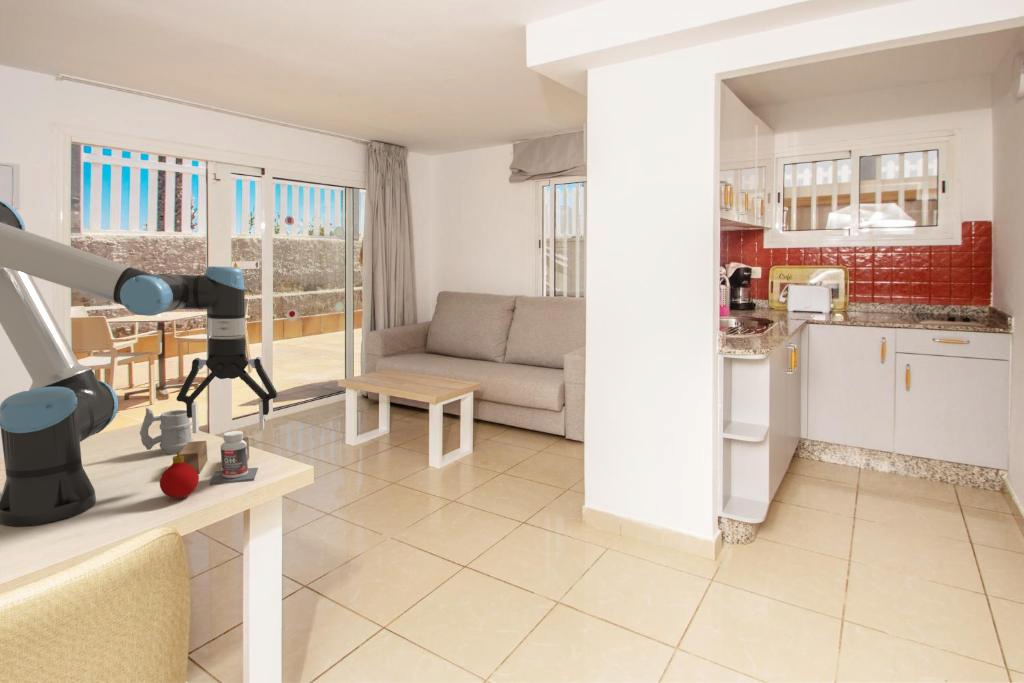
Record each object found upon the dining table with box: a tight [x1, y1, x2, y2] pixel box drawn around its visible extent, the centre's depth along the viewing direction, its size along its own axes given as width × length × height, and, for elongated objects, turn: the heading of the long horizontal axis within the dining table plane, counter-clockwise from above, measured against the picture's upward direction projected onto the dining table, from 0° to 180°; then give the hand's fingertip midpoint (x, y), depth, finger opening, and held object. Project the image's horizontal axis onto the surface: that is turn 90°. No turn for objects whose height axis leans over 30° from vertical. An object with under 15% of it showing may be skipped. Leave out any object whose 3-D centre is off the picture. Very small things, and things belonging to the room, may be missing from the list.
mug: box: [139, 407, 195, 455], centre depth 152 cm, size 8×12×12 cm, turn 125°
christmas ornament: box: [159, 451, 200, 499], centre depth 123 cm, size 7×7×10 cm
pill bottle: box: [220, 430, 249, 478], centre depth 135 cm, size 5×5×10 cm
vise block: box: [179, 437, 250, 475], centre depth 142 cm, size 14×10×5 cm
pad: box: [209, 467, 259, 485], centre depth 135 cm, size 9×8×1 cm
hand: (229, 430), depth 134 cm, fingers open, 13 cm apart
